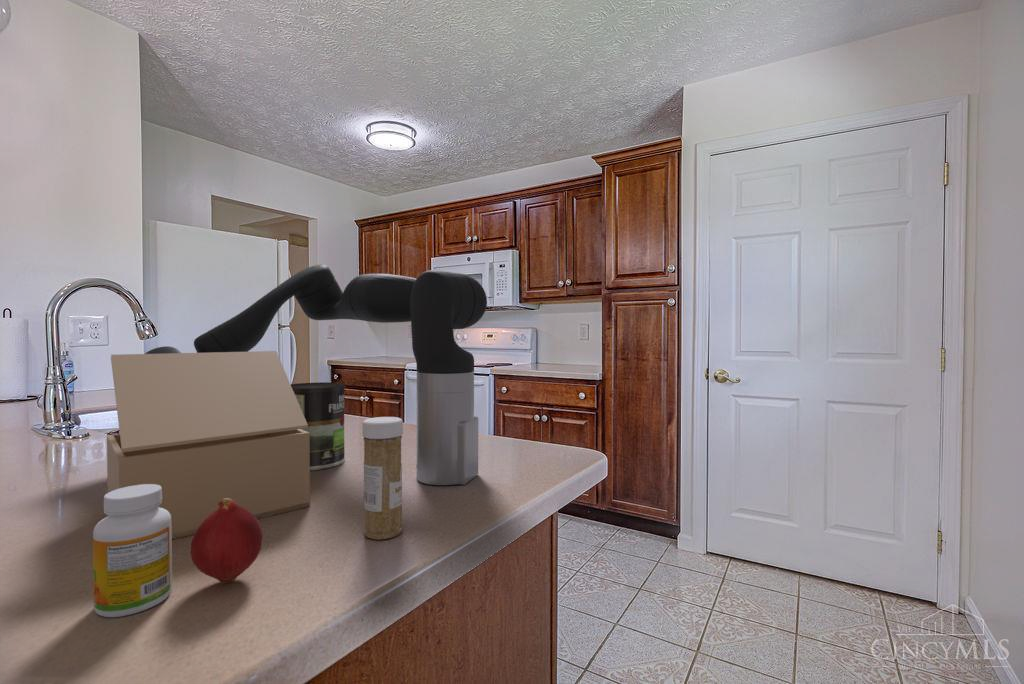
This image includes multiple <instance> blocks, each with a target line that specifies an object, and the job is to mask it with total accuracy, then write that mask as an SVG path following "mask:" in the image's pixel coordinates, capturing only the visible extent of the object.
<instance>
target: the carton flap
mask: <svg viewBox="0 0 1024 684" xmlns="http://www.w3.org/2000/svg"><path fill="white" fill-rule="evenodd" d="M110 361H111V362H110V364H111V371H112V372H111V373H112V380H113V387H114V394H115V404H116V411H117V413H116V414H117V420H118V421H117V422H118V423H117V424H118V430H119V434H120V439H121V448H122V452H129V451H137V450H144V449H152V448H160V447H167V446H175V445H182V444H190V443H198V442H205V441H213V440H221V439H228V438H236V437H243V436H251V435H259V434H266V433H274V432H281V431H289V430H297V429H304V428H307V426H308V424H307V422H306V419H305V417H304V415H303V412H302V410H301V408H300V406H299V403H298V401H297V399H296V396H295V394H294V392H293V389H292V387H291V385H290V384H291V382H290V381H289V380H290V379H289V378H288V376H287V373H286V371H285V368H284V366H283V364H282V361H281V359H280V357H279V354H278V352H277V351H276V350H269V351H268V350H263V351H259V350H258V351H248V352H211V353H197V352H181V353H167V354H145V353H137V354H135V353H133V354H132V353H130V354H110Z"/></svg>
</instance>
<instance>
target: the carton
mask: <svg viewBox="0 0 1024 684" xmlns="http://www.w3.org/2000/svg"><path fill="white" fill-rule="evenodd" d="M106 465H107V467H106V469H107V472H106V476H107V485H106V486H107V493H109V492H111V491H113V490H116V489H120V488H124V487H128V486H134V485H142V484H156V485H160V486H161V488H162V500H161V501H162V502H161V504H160V505H159V507H160V508H164V509H166V510H167V511H168V512H169V513H170V515H171V524H172V541H173V540H177V539H181V538H184V537H188V536H194V535H195V533H196V531H197V529H198V527H199V525H200V524H201V523H202V522H203V521H204V520H205V518H207V517H208V516H209V515H210V514H211V513H212V512H214V511H215V510H217V509H218V508H219V505H218V503H219V502H220V501H221V500H223V499H224V498H229V499H232V500H233V501H234V502H235V503H236V504H237V505H239V506H242V507H244V508H246V509H247V510H248V511H249V512H251V513H252V514H253V515H254V516H255V517H256V518H257V520H259V519H263V518H267V517H271V516H275V515H276V516H277V515H279V514H280V515H281V514H284V513H289V512H291V511H297V510H300V509H304V508H309V507H310V506H311V477H310V476H311V475H310V474H311V470H310V433H309V432H307V431H304V430H302V429H297V430H289V431H281V432H274V433H266V434H259V435H251V436H243V437H236V438H228V439H221V440H213V441H205V442H198V443H190V444H182V445H175V446H167V447H160V448H152V449H144V450H137V451H129V452H122V448H121V439H120V433H115V434H106Z"/></svg>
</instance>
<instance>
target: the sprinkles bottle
mask: <svg viewBox="0 0 1024 684" xmlns="http://www.w3.org/2000/svg"><path fill="white" fill-rule="evenodd" d="M403 424H404V421H403V419H402V418H401V417H397V416H378V417H376V416H375V417H371V418H367V419H364V420H363V422H362V437H363V442H364V443H363V451H364V453H363V455H364V456H363V507H364V529H363V535H364V536H365V537H366V538H369V539H372V540H377V541H378V540H387V539H388V540H389V539H392V538H394V537H396V536H398V535H399V534H401V532H402V531H403V529H404V525H403V516H402V514H403V511H402V509H403V508H402V507H403V506H402V503H403V475H402V474H403V469H402V468H403V467H402V465H403V464H402V437H403V434H404V425H403Z"/></svg>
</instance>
